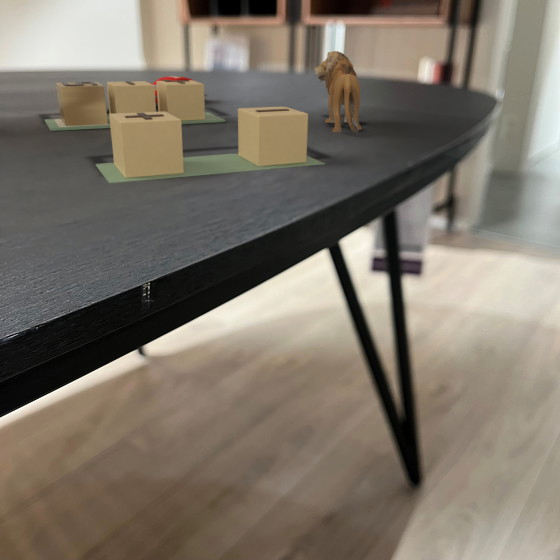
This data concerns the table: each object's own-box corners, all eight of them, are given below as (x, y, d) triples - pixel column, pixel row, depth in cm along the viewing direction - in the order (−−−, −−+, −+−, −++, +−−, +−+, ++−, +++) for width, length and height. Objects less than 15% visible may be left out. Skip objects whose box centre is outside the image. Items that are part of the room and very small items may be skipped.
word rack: (50, 131, 67) (44, 87, 65) (44, 121, 73) (39, 81, 71) (225, 122, 76) (224, 83, 74) (208, 114, 82) (207, 78, 80)
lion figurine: (309, 118, 81) (312, 49, 77) (346, 118, 82) (350, 50, 78) (336, 137, 68) (341, 56, 64) (379, 137, 69) (386, 57, 65)
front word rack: (109, 186, 46) (103, 124, 44) (95, 167, 52) (89, 111, 50) (325, 166, 54) (328, 113, 52) (292, 152, 60) (293, 103, 58)
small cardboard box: (65, 126, 69) (60, 85, 67) (60, 119, 73) (55, 81, 71) (107, 123, 71) (104, 84, 69) (100, 117, 75) (97, 80, 73)
